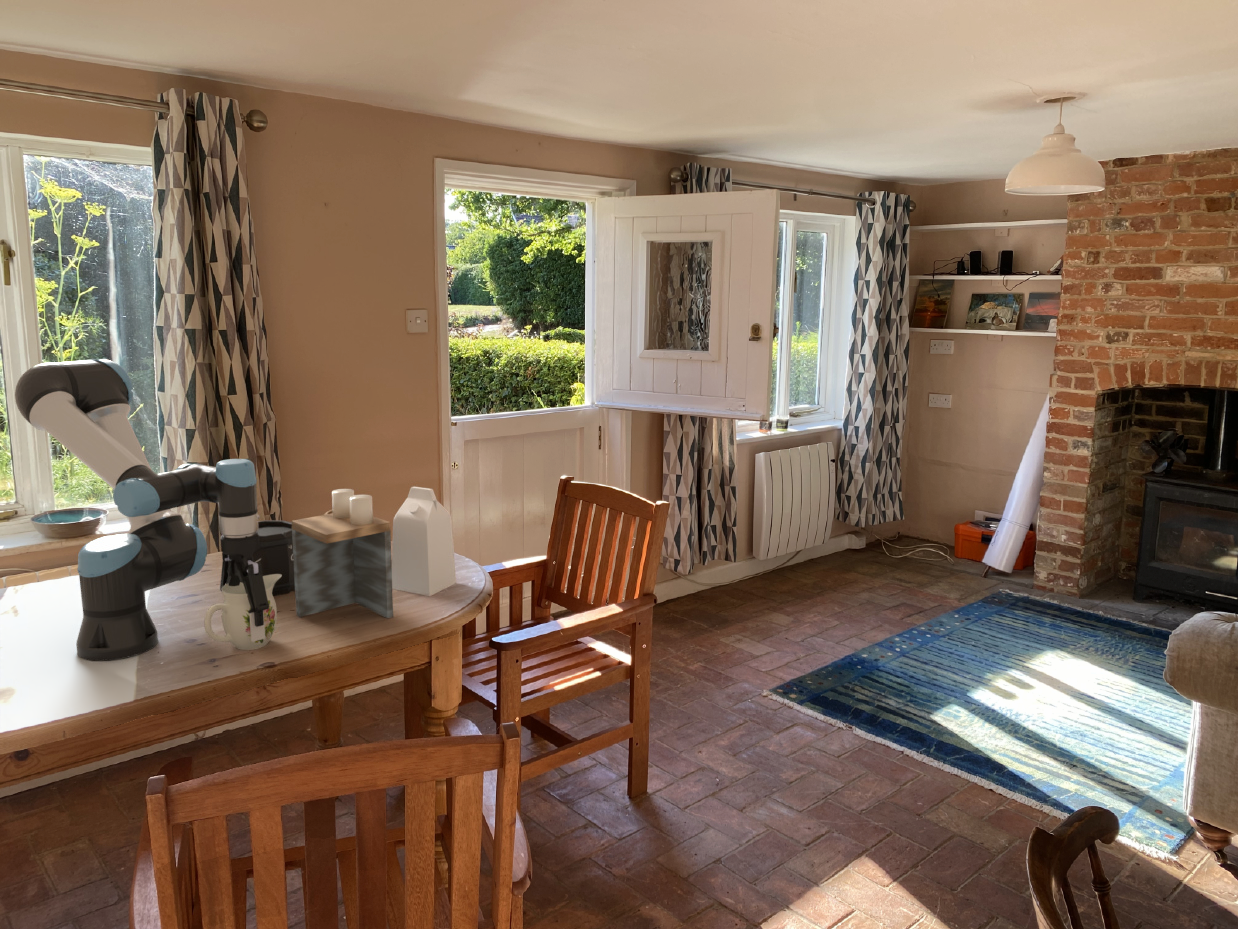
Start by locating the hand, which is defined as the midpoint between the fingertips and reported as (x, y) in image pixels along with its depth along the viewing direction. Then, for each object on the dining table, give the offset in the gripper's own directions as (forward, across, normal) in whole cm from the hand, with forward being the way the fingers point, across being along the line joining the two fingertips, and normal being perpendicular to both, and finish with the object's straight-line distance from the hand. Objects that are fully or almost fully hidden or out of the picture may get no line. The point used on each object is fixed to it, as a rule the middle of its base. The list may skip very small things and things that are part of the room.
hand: (246, 632), depth 195 cm
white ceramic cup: (-20, -2, -27) cm, 34 cm away
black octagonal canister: (+3, +33, -20) cm, 39 cm away
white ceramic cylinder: (-20, +6, -27) cm, 34 cm away
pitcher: (+3, 0, 0) cm, 3 cm away
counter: (+3, +1, -24) cm, 24 cm away
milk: (+3, +7, -50) cm, 51 cm away
